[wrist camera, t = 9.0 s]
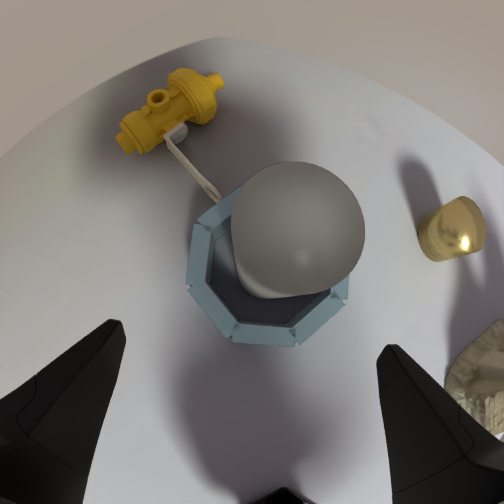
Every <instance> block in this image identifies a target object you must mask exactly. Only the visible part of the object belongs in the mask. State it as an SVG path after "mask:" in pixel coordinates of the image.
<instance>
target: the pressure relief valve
mask: <svg viewBox="0 0 504 504" xmlns="http://www.w3.org/2000/svg"><path fill="white" fill-rule="evenodd" d="M223 87H224V81H223V79H222V77H221V76H220V75H219V74H218V73H212V74H210V75H208V76H207V77H205V76H202V75H200V74H199V73H197V72H196V71H194V70H192V69H189V68H179V69H177V70H175V71H174V72H172V73H170V74H169V75H168V80H167V89H168V90H164V89H155V90H154V91H152V92H151V93H149V94H148V95H147V104H146V105H144V106H142V107H141V109H142V110H138V111H133V112H131V113H129V114H128V115H126V116H125V117H124V118H123V120H122V122H121V123H120V124H119V126H120V128H121V129H122V132H120V133H119V134H118V135H117V136H115V139H116V140H117V142H118V143H119V145H120V146H121V147H122V148H123V150H124V151H125V152H126V153H127V154H128V155H130V154H131V153H132V152H133V151H134V150H137V151H138V152H139V153H140V154H143V153H144V152H145V153H146V152H149V151H150V150H152V149H153V148H154V147H155V146H156V145H157V144H160V143H161V142H163V141H164V140H165V141H166V146H167V147H168V148H169V150H170V151H171V152H172V153H173V154H174V155H175V156H176V157H177V159H178V160H179V161H180V162H181V163H182V164H183V165H184V166H185V168H186V169H187V170H188V171H189V172H190V173H191V174H192V176H193V177H194V178H195V179H196V180H197V181H198V182H199V184H200V185H201V186H202V187H203V189H204V190H205V192H206V193H207V194H208V196H209V197H210V198H211V199H212V200H213V201H214V202H215V203H216V204H217V203H218V202H220V201H221V200H222V199H223V197H222V196H221V194H220V193H219V192H218V191H217V189H216V188H215V187H214V186H213V185H212V184H211V183H210V182H209V181H208V180H207V179H206V178H204V177H203V176H202V175H201V174H200V173H199V172H198V170H197V169H196V168H195V167H194V166H193V165H192V164H191V163H190V162H189V160H188V159H187V158H186V157H185V156H184V155H183V154H182V153H181V151H180V150H179V149H178V148H177V147H176V146H175V145H174V143H175V144H177V143H180V142H181V141H182V140H184V138H185V137H186V134H187V133H188V128H187V126H186V125H185V124H184V121H185V120H186V121H187V120H190V121H192V122H194V123H199V124H202V125H203V124H205V123H207V122H208V121H209V120H211V119H212V118H214V117H215V113H216V110H217V102H216V98H215V95H216V91H218V90H219V89H221V88H223ZM208 188H210V190H211V191H212V192H213V193H214V194H215V195H216V197H217V198H218V199H216V198H215V197H214V195H213V194H212V193H211V192H210V190H209V189H208Z"/></svg>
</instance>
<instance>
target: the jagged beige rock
mask: <svg viewBox="0 0 504 504" xmlns="http://www.w3.org/2000/svg"><path fill="white" fill-rule="evenodd" d="M444 390H445V391H446V392H447V393H448V394H449V395H450V396H451V397H452V398H453V399H454V400H455V401H456V402H457V403H458V404H460V405H461V406H462V407H463V408H464V409H465V410H466V411H467V412H468V413H469V414H470V415H471V416H472V417H473V418H474V419H475V420H476V421H477V422H478V423H480V424H481V425H482V426H483V427H484V428H485V429H487V430H488V431H489V432H490V433H491V434H492V435H494V436H495V435H497V434H499V433H502V432H504V319H500V320H497V321H495V322H494V323H493V324H492V325H491V326H490V327H489V328H488V329H487V331H485V332H484V333H483V334H482V335H481V336H479V337H478V338H476V340H475V341H474V342H473V343H472V344H470V345H469V346H468V347H467V348H466V349H465V350H463V351H462V352H461V353H460V354H459V355H458V356H457V357H456V359H455V361H454V363H453V364H452V366H451V367H450V369H449V372H448V375H447V378H446V381H445V384H444Z"/></svg>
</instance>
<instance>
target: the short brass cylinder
mask: <svg viewBox="0 0 504 504" xmlns="http://www.w3.org/2000/svg"><path fill="white" fill-rule="evenodd" d="M417 235H418V241H419V245H420V247H421V249H422V251H423V253H424V254H425V255H426V256H427V257H428V258H429V259H430V260H432V261H435V262H441V261H445V260H449V259H453V258H456V257H460V256H464V255H467V254H471V253H475V252H478V251H479V250H480V249H481V248H482V247H483V245H484V243H485V238H486V227H485V222H484V218H483V215H482V213H481V211H480V209H479V208H478V206H477V205H476V204H475V202H474V201H472V200H471V199H470V198H468V197H465V196H460V197H458V198H456V199H454V200H452V201H450V202H449V203H447V204H445V205H443V206H441V207H439V208H438V209H436V210H434V211H432V212H430V213H428V214H426V215H425V216H423V217H422V218H421V220H420V222H419V224H418V230H417Z"/></svg>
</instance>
